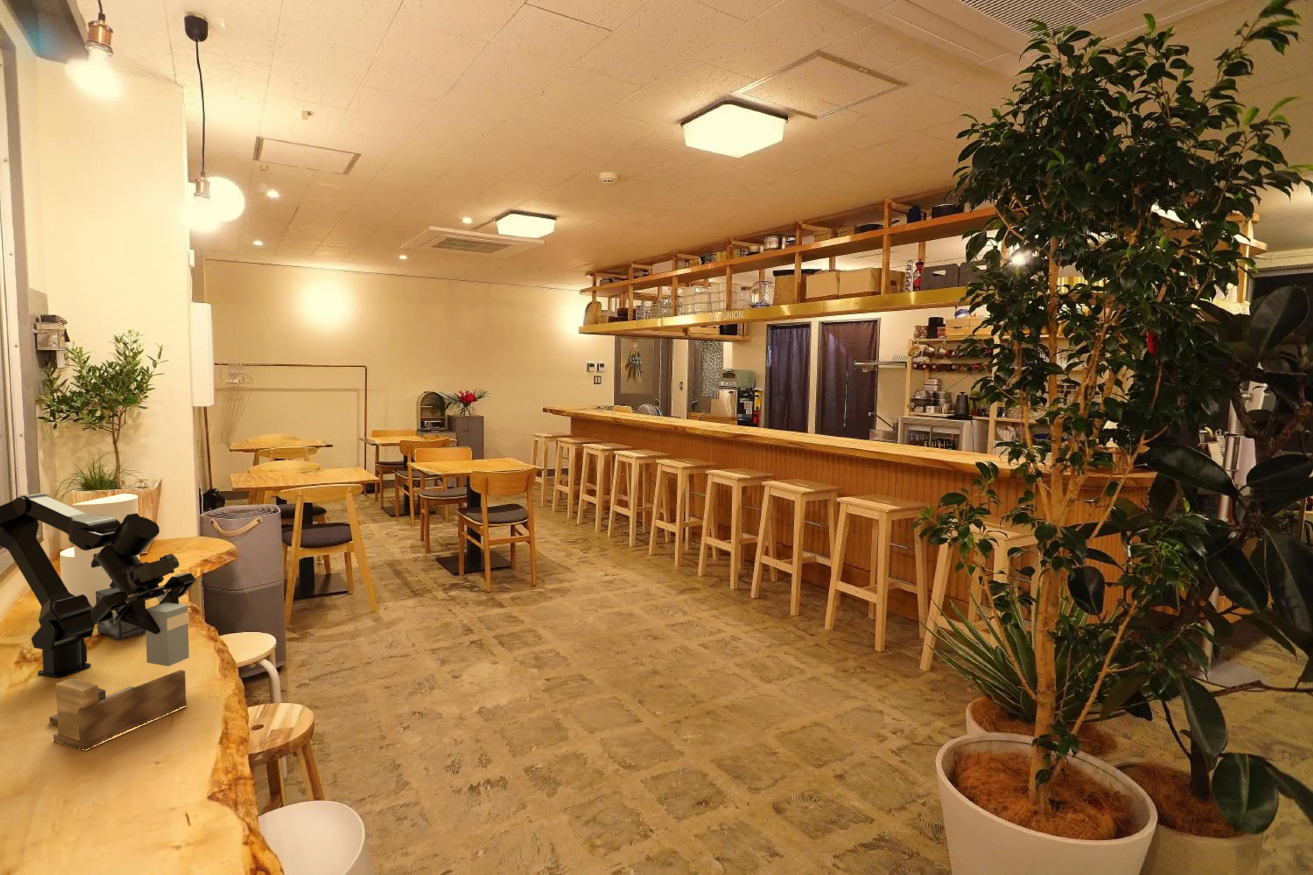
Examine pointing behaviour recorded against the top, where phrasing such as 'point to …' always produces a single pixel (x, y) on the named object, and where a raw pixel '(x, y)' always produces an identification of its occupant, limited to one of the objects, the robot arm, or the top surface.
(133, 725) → the wooden l-bracket
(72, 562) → the cylinder
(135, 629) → the small box
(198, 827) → the top surface
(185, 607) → the grey upright block
